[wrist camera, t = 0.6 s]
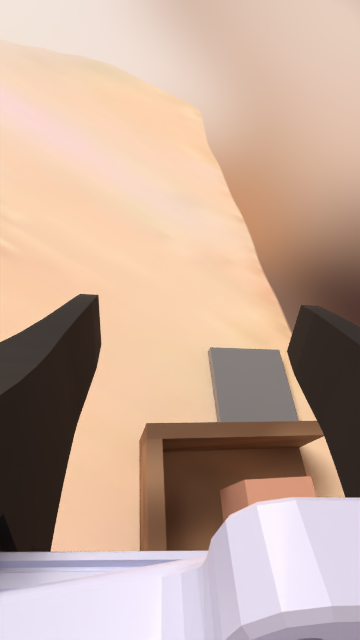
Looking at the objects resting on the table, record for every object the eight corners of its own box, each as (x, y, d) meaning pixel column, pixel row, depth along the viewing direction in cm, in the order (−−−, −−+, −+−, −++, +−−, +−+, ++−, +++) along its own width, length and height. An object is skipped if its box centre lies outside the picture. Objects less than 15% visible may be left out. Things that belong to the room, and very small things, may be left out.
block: (291, 560, 22) (334, 565, 18) (229, 567, 21) (260, 574, 17) (276, 486, 25) (310, 476, 20) (219, 490, 24) (244, 479, 20)
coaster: (294, 424, 28) (298, 422, 28) (218, 426, 27) (221, 423, 26) (275, 353, 32) (279, 349, 31) (208, 351, 31) (210, 347, 30)
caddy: (340, 627, 21) (392, 645, 17) (140, 660, 18) (150, 691, 15) (292, 436, 28) (322, 420, 24) (139, 440, 25) (146, 423, 21)
